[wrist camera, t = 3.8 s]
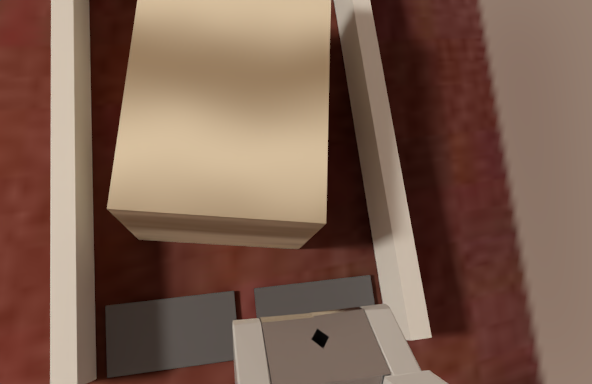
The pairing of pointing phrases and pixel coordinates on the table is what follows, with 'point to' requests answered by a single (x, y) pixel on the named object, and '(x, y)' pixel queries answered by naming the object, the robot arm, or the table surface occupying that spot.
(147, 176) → the birch block
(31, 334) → the table surface
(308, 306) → the box
